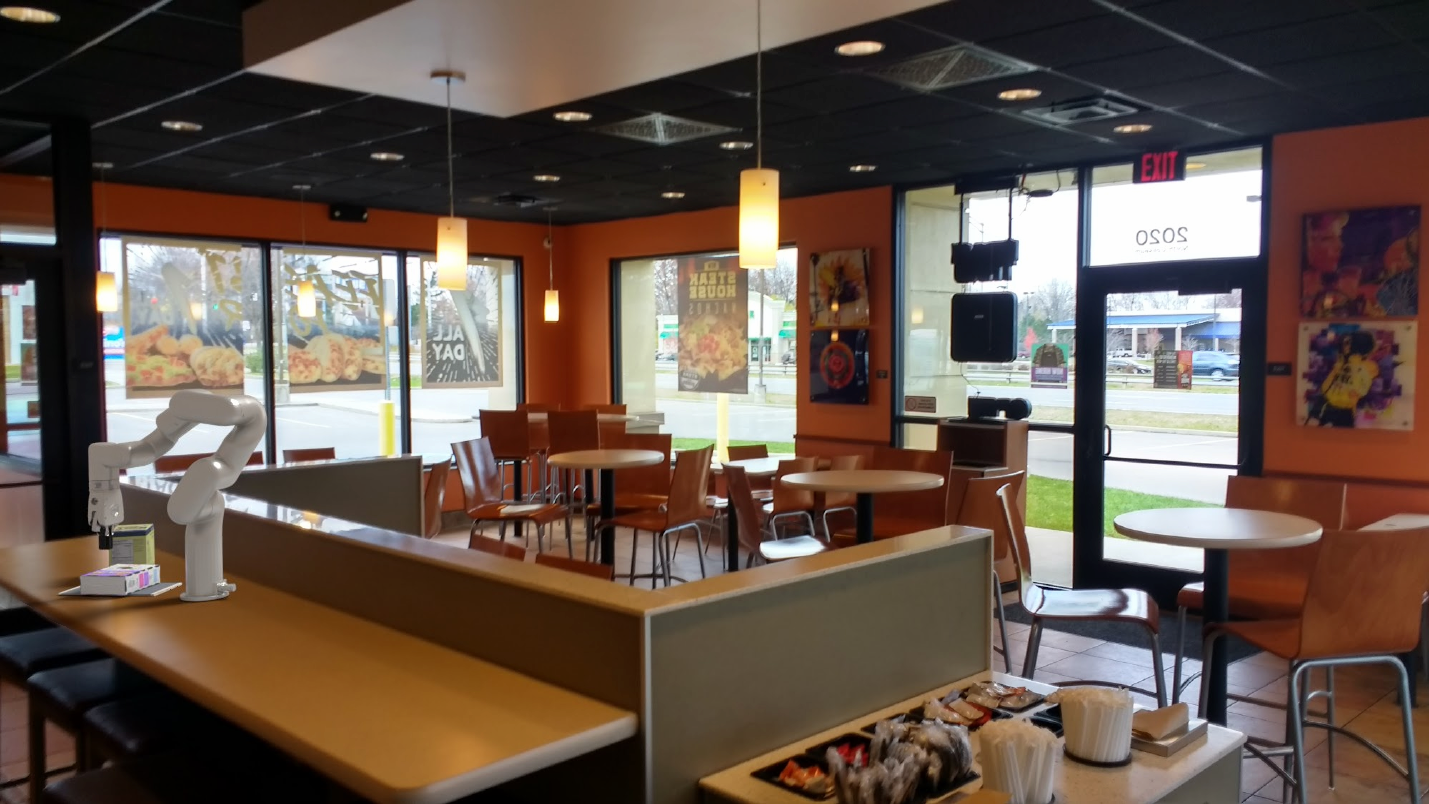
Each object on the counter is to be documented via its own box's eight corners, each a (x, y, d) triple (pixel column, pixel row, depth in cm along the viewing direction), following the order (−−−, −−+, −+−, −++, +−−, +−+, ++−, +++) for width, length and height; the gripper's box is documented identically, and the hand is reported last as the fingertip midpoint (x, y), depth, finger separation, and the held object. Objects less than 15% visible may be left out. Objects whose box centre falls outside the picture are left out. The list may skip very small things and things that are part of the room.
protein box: (155, 570, 333) (154, 522, 333) (147, 580, 319) (146, 530, 318) (118, 573, 330) (117, 524, 329) (108, 583, 315) (107, 532, 315)
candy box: (125, 596, 295) (161, 583, 312) (124, 575, 295) (160, 563, 311) (80, 595, 296) (118, 582, 313) (79, 574, 296) (117, 563, 312)
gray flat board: (182, 584, 312) (182, 582, 312) (153, 596, 297) (153, 594, 297) (90, 584, 313) (90, 582, 313) (57, 595, 298) (57, 593, 298)
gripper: (101, 488, 289) (102, 554, 290) (132, 482, 304) (134, 544, 305) (74, 488, 289) (76, 554, 290) (107, 482, 304) (108, 544, 305)
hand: (105, 549), depth 298 cm, fingers closed
